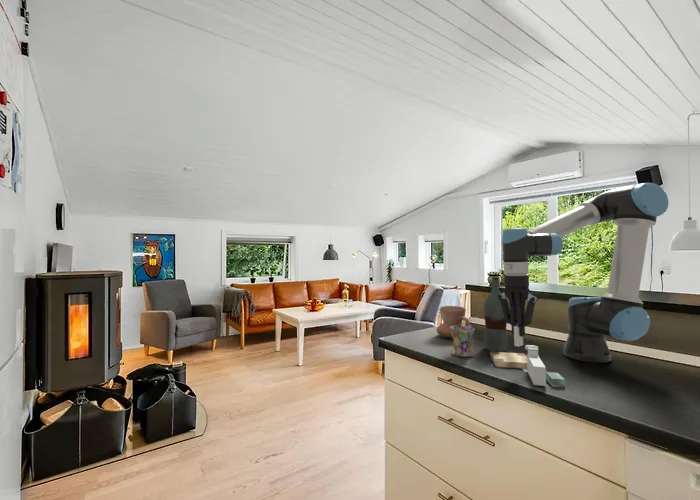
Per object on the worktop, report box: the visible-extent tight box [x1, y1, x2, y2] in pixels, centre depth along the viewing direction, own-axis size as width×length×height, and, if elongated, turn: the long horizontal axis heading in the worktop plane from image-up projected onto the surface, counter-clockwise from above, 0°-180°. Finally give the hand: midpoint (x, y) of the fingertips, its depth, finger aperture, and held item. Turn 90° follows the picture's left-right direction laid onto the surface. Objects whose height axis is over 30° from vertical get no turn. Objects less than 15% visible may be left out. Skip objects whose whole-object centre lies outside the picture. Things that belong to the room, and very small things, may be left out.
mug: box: [450, 325, 476, 358], centre depth 138 cm, size 12×9×11 cm
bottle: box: [483, 276, 509, 352], centre depth 146 cm, size 9×9×30 cm
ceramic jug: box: [436, 305, 470, 340], centre depth 166 cm, size 18×14×14 cm
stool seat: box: [489, 351, 566, 388], centre depth 119 cm, size 16×28×7 cm, turn 167°
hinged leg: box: [524, 344, 547, 387], centre depth 112 cm, size 17×4×8 cm, turn 160°
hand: (518, 345), depth 116 cm, fingers closed
